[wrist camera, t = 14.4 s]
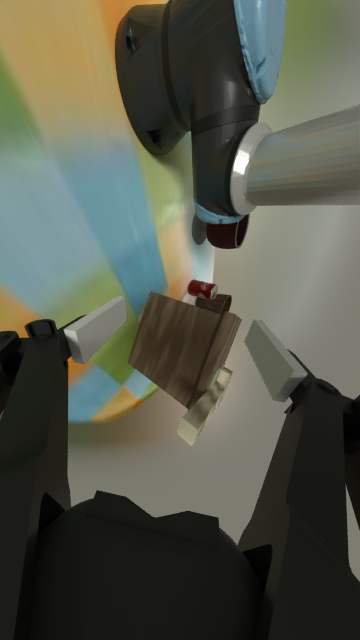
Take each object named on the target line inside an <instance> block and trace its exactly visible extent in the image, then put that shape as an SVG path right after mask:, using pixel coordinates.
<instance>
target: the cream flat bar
mask: <svg viewBox="0 0 360 640" xmlns="http://www.w3.org/2000/svg"><path fill="white" fill-rule="evenodd" d="M232 373H233V371H231V370H229V369H227V368H225V367H223V368H222V369H221V370H220V373H219V376H218V378H217V381H216V382H215V383H214V384H213V385H212V386H211V387H210V388H209V389H208V390H207V391H206V392H205V393H204V395H203V396H202V397H201V398H200V399H199V400H198V401H197V402H196V403H195V404H194V405H193V406H192V408H191V409H190V410H189V411H188V412H187V413H186V414H185V415H184V416H183V418H182V420H181V423H180V425H179V428H178V431H177V434H179V435H180V436H181V437H182V438H183V439H184V440H185V441H186V442H187V443H188V444H189V445H191V446H192V445H193V444H194V442H195V440H196V439H197V437H198V435H199V434H200V432H201V431H202V429H203V427H204V426H205V424H206V422H207V420H208V419H209V417H210V416H211V414H212V412H213V411H214V409H215V407H216V406H219V404H220V402H221V401H222V398H223V396H224V393H225V391H226V388H227V386H228V383H229V381H230V378H231V376H232Z"/></svg>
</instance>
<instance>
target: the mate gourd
mask: <svg viewBox="0 0 360 640" xmlns="http://www.w3.org/2000/svg"><path fill="white" fill-rule="evenodd" d="M249 217H250V213H249V214H247V215H244V217H243V218H242V219H241V220H240V221H238V222H235V223H230V224H221V223H219V224H211V223H207V222H204V221H202V220H200V219H199V218H198V217H197V215H196V213H195V215H194V218H193V223H192V235H193V239H194V241H195V243H196V244H199V245H200V244H202V243H203V242H204V241H205V239H206V236H207V239H208V241H209V242H210V243H211V244H212V245H213V246H215V247H218V248H222V249H234V248H239V247H241V245H242V243H243V241H244V239H245V236H246V232H247V228H248V224H249Z"/></svg>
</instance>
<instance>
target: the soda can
mask: <svg viewBox="0 0 360 640" xmlns="http://www.w3.org/2000/svg"><path fill="white" fill-rule="evenodd" d="M188 293H189V294H190V295H193V296H196V297H199V298H203V299H206V300H210V301H211V300H213V299H214V298H215V296H216V294H217V286H216V284H211V283H207V282H202V281H198V280H192V281H190V283H189V285H188Z"/></svg>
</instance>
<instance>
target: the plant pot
mask: <svg viewBox="0 0 360 640" xmlns="http://www.w3.org/2000/svg"><path fill="white" fill-rule="evenodd" d="M231 301H232V297H231V295H223V294H216V296H215V298H214V299H213V300H211V301H210V300H206V299H203V298H199V297H198V298H197V300H196V307H199V308H202V309H205V310H208V311H211V312H214V313H218V314H221V315H224V313H225V311H227V312H229V309H230V305H231Z"/></svg>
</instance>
